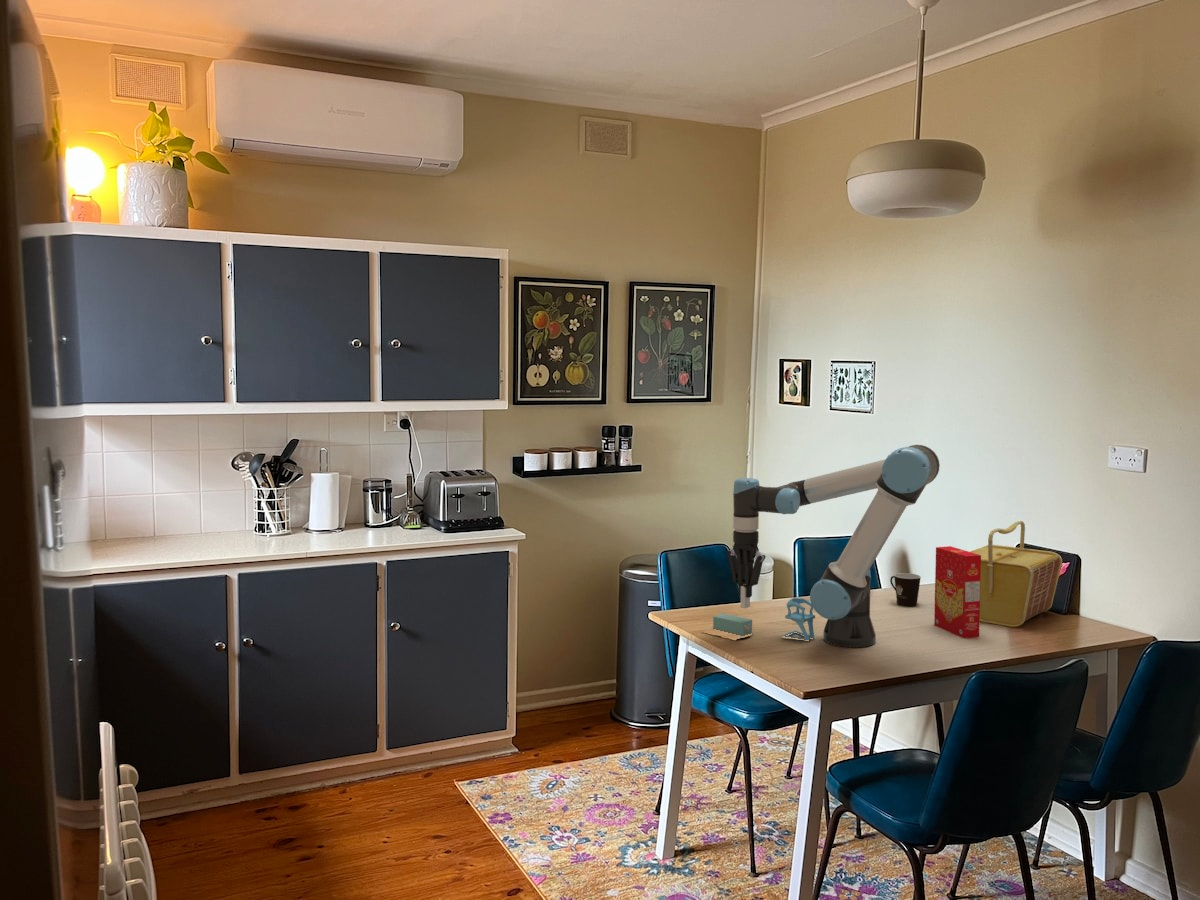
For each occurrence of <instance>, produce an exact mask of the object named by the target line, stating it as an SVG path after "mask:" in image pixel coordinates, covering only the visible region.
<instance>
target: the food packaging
mask: <svg viewBox="0 0 1200 900" xmlns="http://www.w3.org/2000/svg"><path fill="white" fill-rule="evenodd" d="M934 569H935V573H934V576H935V577H934V580H935V581H934V582H935V583H934V618H933V619H934V620H933V621H934V622H933V623H934V627H937V628H939V629H941V630H944V631H945V632H949V633H950V634H952V635H954V636H958V637H959V638H961V639H972V638H980V624H981V623H980V622H981V621H980V582H981V555H979V554H975V553H972V552H970V551H969V550H964V549H961V548H957V547H954V546H950V545H949V546H937V547H935V568H934Z"/></svg>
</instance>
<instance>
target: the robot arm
mask: <svg viewBox="0 0 1200 900" xmlns="http://www.w3.org/2000/svg"><path fill="white" fill-rule="evenodd" d="M940 466H941V465H940V460H939V457H938V454H936V452H935V451H934V450H932V448H930V447H928V446H926V445H923V444H912V445H909V446H904V447H900V448H897V449H895V450H894V451H892V452H891V453H890V454H888V455H887V457H886V458H885V459H881V460H877V461H873V462H870V463H865V464H861V465H858V466H854V467H850V468H845V469H841V470H838V471H834V472H830V473H825V474H822V475H818V476H814V477H810V478H806V479H802V480H797V481H792V482H790V483H787V484H783V485H781V486H776V487H775V486H773V487H771V486H761V485H760V481H759V479H757V478H751V477H745V478H744V477H743V478H736V479H735V480H734V482H733V492H732V495H733V500H732V501H733V516H732V517H733V518H732V521H733V522H732V523H733V524H732V526H733V527H732V528H733V529H734V530H733V531H732V539H733V540H732V542H733V546H732V548H731V549H729V550H726V552H725V553H726V555H727V558H728V560H729V566H730V571H731V576H732V577H731V578H732V582H733V583H735V584H737V585H738V596H739V597H740V609H747V608H750V607H751V597H752V595H753V587H754V586H757V585H758V584H759V581H760V576H761V571H762V567H763V563H764V561H765V559H766V555H765V554H762V553H761V552H760V550H759V548H758V547H759V546H758V544H759V537H760V536H759V531H758V529H759V520H760V519H759V513H760V512H761V513H772V514H780V515H781V514H782V515H794V514H796V513H797V512H798V510H799V509H800V507H803V506H808V505H811V504H814V503H820V502H824V501H829V500H832V499H837V498H842V497H846V496H851V495H855V494H858V493H863V492H867V491H871V490H875V489H877V492H876V493H875V495H874V497H873V499H872V500H871V502H870V504H869V505H868V507H867V509H866V510H865V512H864V514H863V515H862V517H861V520H860V521H859V523H858V525H857V526H856V528H855V530H854V532H853V534H852V535H851V536H850V539H849V540H848V541H847V544H846V546H845V547H844V548H843V551H842V552H841V554H840V556H839V557H838V559H837V560H836V561H832V562H830V563H829V564H828V566H827V568H826V569H825V571H824V572H823V575H822V576H821V578H820V579H819V580H818V581H817V582H815V583H814V584H813V586H812V588H811V590H810V592H809V602H811V604H812V607H813V610H814V611H815V612H816V613H817V614H818V615H819V616H820V617H822V618H824V619H827V621H826V623H825V626H824V629H823V634H822V635H823V636H822V637H823V638H824V639H823V638H822V639H823V641H824V642H826V641H827V642H826V643H828V642H829V643H828V644H830V643H832V644H831V645H833V644H835V645H834V646H837V645H839V646H838V647H843V646H845V648H865V646H867V647H869V646H870V645H871V646H874V645H875V644H876V643H877V641H876V640H877V639H876V638H877V635H876V631H875V628H874V625H873V622H872V619H871V579H872V576H871V567H873V564H874V563H875V560H876V559H877V558H878V555H879V554H880V552H881V551H882V549H883V547H884V545H886V542H887V541H888V538H889V537H890V535H891V534H892V532H893V530H894V529H895V527H896V525H897V524H898V521H899V520H900V518H901V516H902V515H903V513H904V512H905V510H906V508H907V507H908V506H912V505H915V504H916V503H917V501H918V499H919V498H920V496H921V495H922V493H923V491H924V489H925V488H926V486H927V485H929V484H931V483H932V482H933V481H934V480H935V479H936V478H937V476H938V474H939V472H940Z"/></svg>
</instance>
